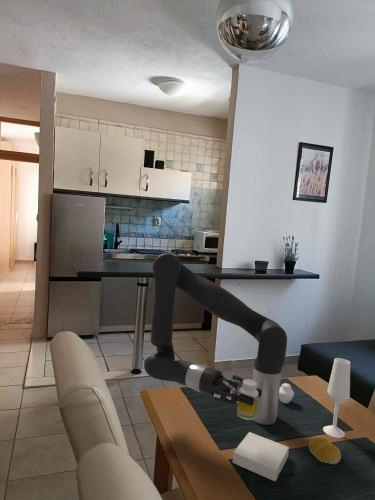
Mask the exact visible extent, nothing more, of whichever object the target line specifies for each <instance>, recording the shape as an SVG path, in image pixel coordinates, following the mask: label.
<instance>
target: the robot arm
mask: <svg viewBox="0 0 375 500" xmlns="http://www.w3.org/2000/svg"><path fill="white" fill-rule="evenodd" d="M151 269H152V273H153V275H154V284H155V285H154V287H155V288H154V290H155V291H154V292H155V293H154V295H155V297H154V304H153V305H154V306H153V312H152V319H151V328H150V329H151V331H150V343H151V344H152V345H153V346H154V347H156V353H154V354H150V355H149V356H148V357H146V359H145V360H144V363H143V368H144V371H145V373H146V374H147V375H148V376H149V377H150V378H153V379H155V380H160V381H167V382H174V383H177V384H179V385H183V386H185V387H188V388H190V389H192V390H193V391H196V392H199V393H201V394H204V395H207V396H210V397H212V398H213V400H215V401H218V402H222V403H226V404H230V405H236V404H235V403H237V404H238V403H239V402H242V403H245V404H248V405H250V406H253V404H254V397H251V396H248V395H246V394H243V393H240V392H239V390H240V388H241V387H243V386H242V383H243V380H245V379H246V378H243V377H240V376H238V375H236V374H233V375H232V378H230V377H224V375H223V372H222V371H221V370H218V369H216V368H215V369H214V368H212V367H208V366H206V365H203V364H197V363H193V362H191V361H187V360H183V359H177V360H175V359H176V357H175V351H174V350H175V349H174V345H173V344H174V343H173V335H174V334H173V331H174V315H175V314H174V312H175V310H174V309H175V296H176V289H179V290H180V291H182V292H184V294H186V295H187V296H188V297H190V298H191V300H193V301H194V302H195V303H197V304H198V305H199V306H201V307H202V308H203V309H204V310H206V311H208V312H209V313H210V314H212V315H213V316H215V317H216V318H218V319H220V320H222V321H224V322H226V323H230V324H233V325H235V326H237V327H240V328H241V329H242V330H244V331H245V332H247V333H248V334H249V335H251V337H253V338H254V339H255V340H256V342H258V345H257V346H258V348H257V356H256V358H255V359H254V361H253V369H252V371H253V373H252V380H254V381H255V382H256V383H257V388H256V390H257V391H258V404H257V413H256V418H255V419H253V420H252V421H253V422H255V423H256V424H260V425H264V426H265V425H266V426H268V425H274V424H275V423H276V422H277V415H278V407H279V400H280V398H279V390H280V387H281V379H282V371H283V369H282V368H283V367H284V364H285V361H286V354H287V347H288V335H287V333H286V331H285V330H284V328H283V327H282V326H281V325H280V324H279V323H277V322H276V321H274V320H273V319H270V318H269V317H266V316H264V315H262V314H260V313H259V312H257V311H255V310H253V309H252V308H251V307H249V306H248V305H247V304H245V303H244V302H243V301H242V300H241V299H240V298H238V297H237V296H235V295H234V294H232V292H230V291H228V290H227V289H225V288H224V287H222V286H220V285H219V284H217V283H215V282H213V281H211V280H209V279H207V278H205V277H203V276H201V275H198V274H196V273H195V272H194V271H192V270H191V269H189V268H188V267H187V266H186V265H184V264H183V263H182V262H180V260H179V258H178V257H177V256H176V255H174V254H172V253H167V252H166V253H162V254H159V255H158V256H156V258H155V259H154V260H153V262H152V267H151ZM240 394H241V395H240Z"/></svg>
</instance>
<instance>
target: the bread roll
mask: <svg viewBox="0 0 375 500" xmlns="http://www.w3.org/2000/svg"><path fill="white" fill-rule="evenodd" d="M308 450H309V452H310V453H311V455H313V456H314V457H315V458H316V460H318V461H319V462H321V463H323V462H325V463H324V464H327V463H329V464H328V465H336V464H338V463H340V461H341V459H342V453H341V451H340V449H339V448H338V446H335V445H334V444H332V442H331V441H330V440H328V439H327V438H324V437H316V438H314V439H312V440H310V441H309V444H308Z"/></svg>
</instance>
